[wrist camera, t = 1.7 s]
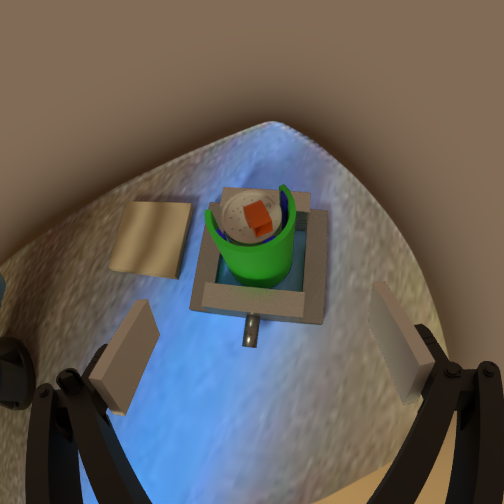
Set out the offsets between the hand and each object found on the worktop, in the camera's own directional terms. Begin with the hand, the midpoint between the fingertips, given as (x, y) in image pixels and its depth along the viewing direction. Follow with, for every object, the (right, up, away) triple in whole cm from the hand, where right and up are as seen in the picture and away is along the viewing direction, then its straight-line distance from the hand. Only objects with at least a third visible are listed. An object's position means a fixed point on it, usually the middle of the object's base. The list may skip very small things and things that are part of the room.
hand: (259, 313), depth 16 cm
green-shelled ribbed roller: (+1, +2, +25) cm, 26 cm away
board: (-17, +5, +28) cm, 33 cm away
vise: (+1, 0, +25) cm, 25 cm away
